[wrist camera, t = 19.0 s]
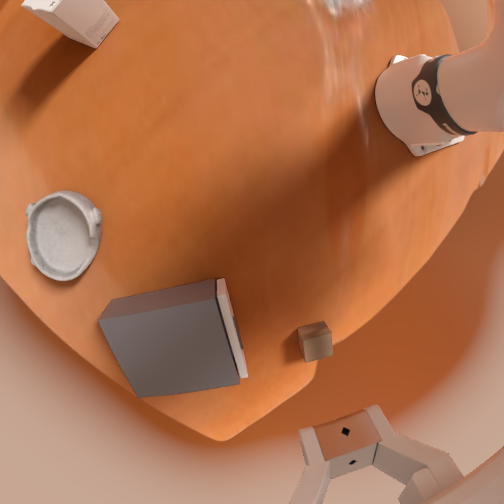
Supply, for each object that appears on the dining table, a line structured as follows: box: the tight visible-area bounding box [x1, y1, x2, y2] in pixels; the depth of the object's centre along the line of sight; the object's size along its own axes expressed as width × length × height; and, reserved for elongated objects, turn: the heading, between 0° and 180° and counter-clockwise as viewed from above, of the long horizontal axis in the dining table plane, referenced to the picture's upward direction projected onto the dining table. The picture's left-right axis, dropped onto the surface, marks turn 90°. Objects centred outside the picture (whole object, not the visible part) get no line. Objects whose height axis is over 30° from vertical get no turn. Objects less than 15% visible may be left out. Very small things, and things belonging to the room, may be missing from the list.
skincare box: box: [21, 0, 119, 49], centre depth 22 cm, size 8×7×16 cm
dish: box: [26, 191, 102, 281], centre depth 37 cm, size 14×14×5 cm
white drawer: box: [216, 278, 248, 379], centre depth 43 cm, size 18×16×6 cm
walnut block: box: [297, 321, 333, 363], centre depth 48 cm, size 5×5×4 cm
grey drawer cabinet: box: [98, 279, 240, 398], centre depth 43 cm, size 18×16×7 cm
